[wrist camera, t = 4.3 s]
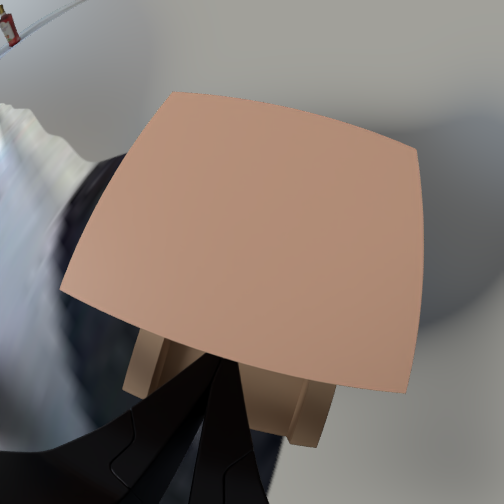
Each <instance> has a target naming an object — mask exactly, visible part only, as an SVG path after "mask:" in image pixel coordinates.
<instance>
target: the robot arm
mask: <svg viewBox="0 0 504 504" xmlns="http://www.w3.org/2000/svg"><path fill="white" fill-rule="evenodd" d="M203 419H204V422H203V427H202V432H201V437H200V442H199V448H198V453H197V458H196V464H195V469H194V475H193V480H192V486H191V491H190V497H189V503H188V504H269V502H268V499H267V497H266V494H265V491H264V488H263V485H262V482H261V479H260V475H259V471H258V467H257V463H256V458H255V453H254V452H253V450H254V449H253V443H252V438H251V433H250V427H249V422H248V416H247V411H246V405H245V400H244V394H243V388H242V382H241V376H240V370H239V364H238V362H236V361H233V360H229V359H226V358H223V357H220V356H216V355H213V354H210V353H207V352H206V353H204V354H203V355H202V356H200V357H199V358H198V359H197V360H195V361H194V362H193V363H191V364H190V365H189V366H188V367H186V368H185V369H184V370H182V371H181V372H180V373H178V374H177V375H176V376H174V377H173V378H172V379H170V380H169V381H168V382H166V383H165V384H164V385H162V386H161V387H159V388H158V389H157V390H155V391H154V392H153V393H151V394H150V395H149V396H147V397H146V398H144V399H143V400H142V401H140V402H139V403H137V404H136V405H134V406H133V407H132V408H131V410H127V411H126V412H124V413H123V414H121V415H120V416H118V417H117V418H115V419H114V420H112V421H111V422H109V423H107V424H106V425H104V426H102V427H100V428H98V429H96V430H94V431H92V432H90V433H88V434H86V435H84V436H82V437H79V438H77V439H75V440H73V441H70V442H68V443H66V444H63V445H61V446H59V447H56V448H54V449H50V450H46V451H41V452H13V451H0V504H159V502H160V500H161V498H162V497H163V495H164V493H165V491H166V489H167V488H168V486H169V484H170V482H171V480H172V478H173V476H174V475H175V473H176V471H177V469H178V467H179V465H180V463H181V462H182V460H183V458H184V456H185V454H186V452H187V450H188V448H189V446H190V444H191V442H192V441H193V439H194V437H195V435H196V433H197V431H198V429H199V427H200V425H201V423H202V421H203Z"/></svg>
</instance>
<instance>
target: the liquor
mask: <svg viewBox="0 0 504 504" xmlns="http://www.w3.org/2000/svg"><path fill="white" fill-rule="evenodd" d="M0 15H1V20H0V28H1V30H2V32H3V33H4V35H5V37H6V39H7V41H8V43H9V47H13V46H14V45H15V44H17V43H18V42H19V41H20V37H19V35H18V33H17V30H16V27H15V25H14V21H13V18H12V15H11V14H6V13H5V11H4V9H3V5H0Z"/></svg>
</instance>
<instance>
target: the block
mask: <svg viewBox="0 0 504 504" xmlns="http://www.w3.org/2000/svg"><path fill="white" fill-rule="evenodd" d="M423 261H424V226H423V205H422V192H421V181H420V172H419V164H418V157H417V150H416V149H414V148H412V147H410V146H407V145H405V144H403V143H400V142H398V141H395V140H393V139H390V138H388V137H385V136H383V135H379V134H377V133H374V132H372V131H369V130H366V129H363V128H360V127H357V126H354V125H351V124H348V123H344V122H341V121H338V120H335V119H331V118H328V117H324V116H321V115H317V114H313V113H309V112H305V111H301V110H297V109H293V108H288V107H284V106H279V105H274V104H269V103H264V102H258V101H252V100H246V99H240V98H232V97H226V96H217V95H208V94H198V93H184V92H172V93H171V94H170V96H169V97H168V98H167V99H166V101H165V102H164V103H163V104H162V106H161V107H160V108H159V110H158V111H157V112H156V113H155V115H154V116H153V117H152V119H151V120H150V121H149V123H148V124H147V126H146V127H145V128H144V130H143V131H142V133H141V134H140V135H139V137H138V138H137V140H136V141H135V143H134V144H133V146H132V147H131V149H130V150H129V152H128V153H127V155H126V156H125V158H124V159H123V161H122V163H121V164H120V166H119V167H118V169H117V171H116V172H115V174H114V176H113V177H112V179H111V181H110V182H109V184H108V186H107V188H106V189H105V191H104V193H103V195H102V196H101V198H100V200H99V202H98V204H97V206H96V208H95V210H94V211H93V213H92V215H91V217H90V219H89V221H88V223H87V225H86V227H85V230H84V232H83V234H82V236H81V238H80V240H79V242H78V245H77V247H76V249H75V251H74V254H73V256H72V259H71V261H70V263H69V266H68V268H67V271H66V273H65V276H64V279H63V281H62V284H61V287H60V290H62V291H63V292H65V293H67V294H69V295H71V296H73V297H75V298H77V299H79V300H81V301H83V302H85V303H87V304H89V305H91V306H93V307H95V308H97V309H99V310H101V311H103V312H105V313H107V314H110V315H112V316H114V317H116V318H118V319H121V320H123V321H125V322H128V323H130V324H132V325H135V326H137V327H139V328H142V329H144V330H147V331H149V332H152V333H154V334H157V335H159V336H162V337H165V338H167V339H170V340H173V341H175V342H178V343H181V344H184V345H186V346H189V347H192V348H195V349H198V350H201V351H204V352H207V353H210V354H213V355H216V356H220V357H223V358H226V359H229V360H233V361H236V362H240V363H243V364H247V365H250V366H254V367H258V368H262V369H265V370H269V371H273V372H278V373H282V374H286V375H290V376H295V377H299V378H304V379H309V380H314V381H319V382H324V383H330V384H336V385H342V386H348V387H354V388H361V389H369V390H376V391H385V392H396V393H406V390H407V386H408V382H409V377H410V373H411V368H412V363H413V358H414V352H415V346H416V340H417V334H418V326H419V318H420V309H421V298H422V285H423V265H424V262H423Z"/></svg>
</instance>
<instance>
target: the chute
mask: <svg viewBox="0 0 504 504" xmlns="http://www.w3.org/2000/svg"><path fill="white" fill-rule="evenodd" d="M204 353H206V352H204V351H201V350H198V349H195V348H192V347H189V346H186V345H184V344H181V343H178V342H175V341H173V340H170V339H167V338H165V337H162V336H159V335H157V334H154V333H152V332H149V331H147V330H144V329H142V328H140V331H139V334H138V337H137V341H136V344H135V347H134V350H133V354H132V357H131V360H130V364H129V367H128V371H127V374H126V378H125V381H124V385H123V389H122V390H124V391H126V392H128V393H131V394H133V395H135V396H137V397H139V398H141V399H144V398H146V397H147V396H149V395H150V394H151V393H153V392H154V391H155V390H157V389H158V388H159V387H161V386H162V385H164V384H165V383H166V382H168V381H169V380H170V379H172V378H173V377H174V376H176V375H177V374H178V373H180V372H181V371H182V370H184V369H185V368H186V367H188V366H189V365H190V364H191V363H193V362H194V361H195V360H197V359H198V358H199V357H200V356H202V355H203V354H204ZM238 364H239V370H240V376H241V382H242V388H243V394H244V400H245V405H246V411H247V416H248V422H249V427H250V429H254V430H258V431H262V432H267V433H271V434H276V435H282V436H286V437H287V439H288V441H289V443H290V444H294V445H300V446H306V447H314V448H316V447H317V445H318V442H319V439H320V437H321V434H322V431H323V428H324V424H325V422H326V419H327V416H328V412H329V409H330V406H331V402H332V399H333V395H334V392H335V388H336V384H330V383H324V382H319V381H314V380H309V379H304V378H299V377H295V376H290V375H286V374H282V373H278V372H273V371H269V370H265V369H262V368H258V367H254V366H250V365H247V364H243V363H240V362H238Z"/></svg>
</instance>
